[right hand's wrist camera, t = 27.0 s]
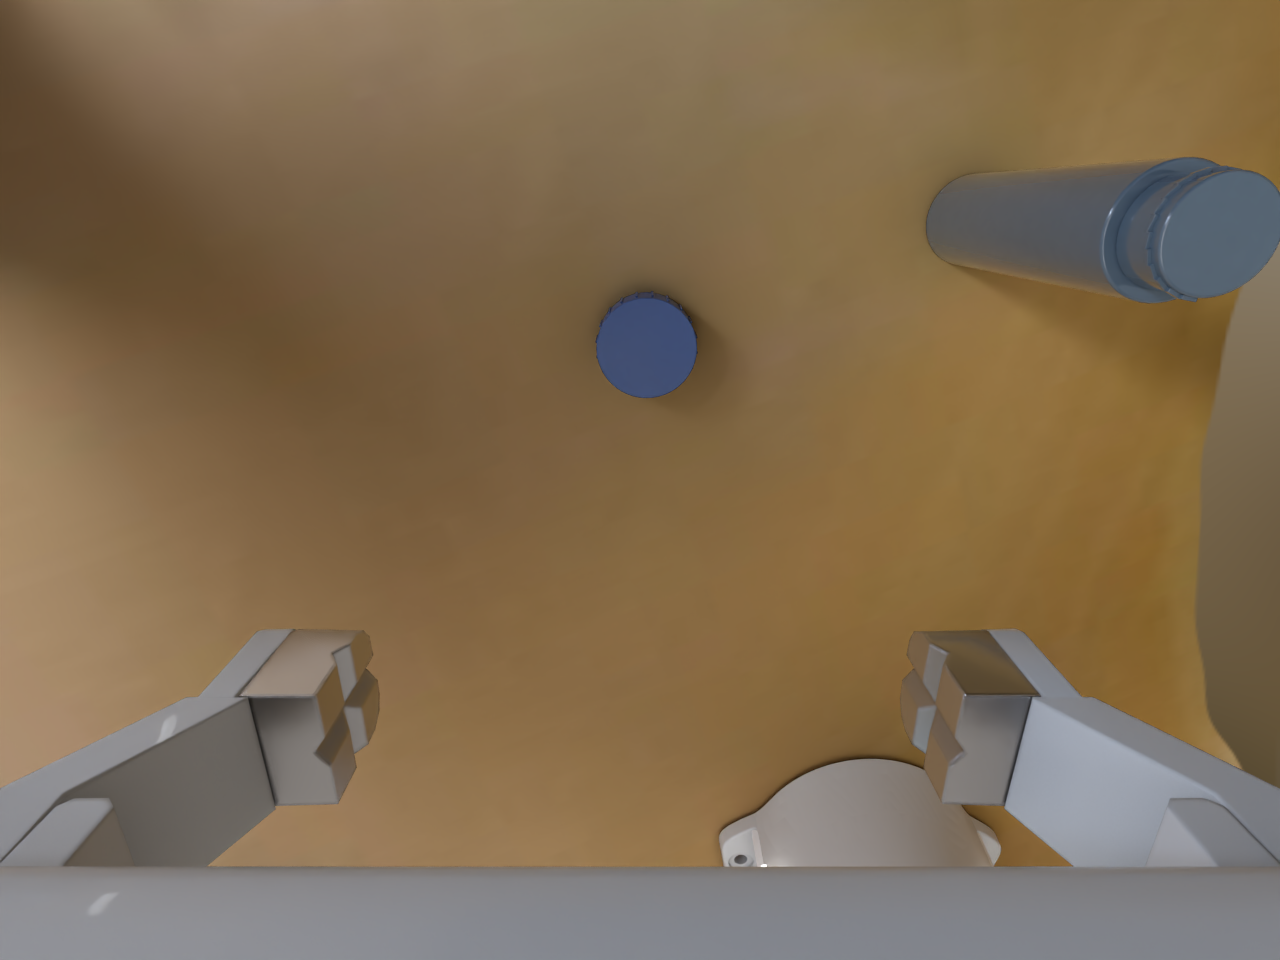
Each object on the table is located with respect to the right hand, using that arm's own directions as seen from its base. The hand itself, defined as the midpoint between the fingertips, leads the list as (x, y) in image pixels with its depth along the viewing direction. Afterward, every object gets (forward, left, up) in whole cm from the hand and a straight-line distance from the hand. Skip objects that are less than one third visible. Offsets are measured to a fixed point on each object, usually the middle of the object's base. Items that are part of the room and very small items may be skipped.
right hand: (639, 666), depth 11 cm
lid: (0, 0, -25) cm, 25 cm away
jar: (+8, +15, -27) cm, 31 cm away
